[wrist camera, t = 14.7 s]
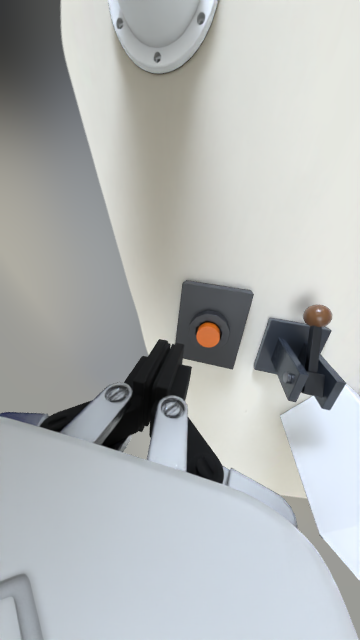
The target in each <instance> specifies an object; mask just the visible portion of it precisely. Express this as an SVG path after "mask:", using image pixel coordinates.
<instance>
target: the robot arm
mask: <svg viewBox="0 0 360 640" xmlns="http://www.w3.org/2000/svg"><path fill="white" fill-rule="evenodd" d="M217 3H218V0H108V4H109V9H110V15H111V20H112V23H113V26H114V29H115V32H116V34H117V36H118V39H119V41H120V43H121V45H122V47H123V48H124V50H125V52H126V53H127V55H128V56H129V58H130V59H131V60H132V61H133V62H134V63H135V64H136V65H137V66H139V67H140V68H142V69H143V70H145V71H148V72H151V73H166V72H170V71H172V70H174V69H176V68H178V67H180V66H181V65H183V64H184V63H185V62H186V61H187V60H189V59H190V58H191V56H192V55H193V54H194V53H195V52H196V50H197V49H198V48H199V46H200V44H201V43H202V41H203V40H204V38H205V36H206V34H207V32H208V30H209V27H210V25H211V23H212V20H213V17H214V13H215V10H216V7H217ZM183 353H184V344H180V343H176V344H175V345H174V344H172V346H171V348H170V344H169V343H168V341H166V340H161V339H159V340H158V342H157V343H156V345H155V346H154V348H153V350H152V351H151V353H150V354H149V356H148V357H145V356H142V357H141V359H140V360H139V361H138V363H137V364H136V366H135V367H134V369H133V370H132V372H131V373H130V374H129V376H128V377H127V379H126V380H125V382H124V383H113V384H111V385H109V386H108V387H106V388H105V389H104V390H103V391H102V392H101V393H100V394H99V395H98V396H97V397H96V398H95V399H94V400H92V401H89V402H86V403H83V404H80V405H78V406H75V407H72V408H69V409H67V410H63V411H60V412H58V413H56V414H53V415H51V416H48V414H40V413H16V412H6V413H1V414H0V640H359V639H358V637H357V634H356V631H355V629H354V626H353V624H352V621H351V618H350V616H349V613H348V611H347V608H346V606H345V603H344V601H343V599H342V596H341V594H340V592H339V589H338V587H337V585H336V583H335V581H334V579H333V577H332V575H331V573H330V571H329V569H328V567H327V565H326V564H325V562H324V561H323V559H322V557H321V555H320V554H319V552H318V551H317V550H316V548H315V547H314V546H313V545H312V544H311V543H310V541H309V540H308V539H307V538H306V537H305V536H304V535H303V534H302V533H301V532H300V531H299V530H298V528H297V522H296V517H295V514H294V513H293V510H292V509H291V506H290V505H289V504H288V503H287V502H286V500H285V499H284V498H282V497H281V496H280V495H279V494H277V493H275V492H274V491H272V490H270V489H268V488H266V487H265V486H263V485H261V484H259V483H258V482H256V481H254V480H252V479H250V478H249V477H247V476H245V475H243V474H241V473H240V472H238V471H236V470H234V469H233V468H231V469H230V470H229V469H227V468H226V467H224V466H222V464H221V462H220V461H219V459H218V458H217V456H216V455H215V453H214V452H213V451H212V449H211V448H210V447H209V445H208V444H207V442H206V441H205V440H204V438H203V437H202V436H201V434H200V433H199V431H198V430H197V429H196V427H195V426H194V424H193V423H192V422H191V420H190V419H189V418H188V406H187V404H186V402H185V399H186V395H187V390H188V386H189V381H190V375H191V369H192V367H190V366H186V365H182V360H183ZM149 422H150V437H151V441H150V445H149V451H148V456H147V460H146V459H142V458H139V457H136V456H133V455H130V454H126V453H123V451H124V449H125V448H126V446H127V445H128V443H129V442H130V440H131V438H132V434H134V433H136V432H138V431H140V432H142V431H143V429H144V426H148V425H149Z"/></svg>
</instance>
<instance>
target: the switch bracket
mask: <svg viewBox="0 0 360 640" xmlns="http://www.w3.org/2000/svg"><path fill="white" fill-rule="evenodd" d="M309 329H310V326H309V325H307V324H304V323H298V322H292V321H287V320H281V319H275V318H269V321H268V324H267V327H266V330H265V333H264V336H263V339H262V342H261V345H260V348H259V351H258V354H257V357H256V360H255V363H254V369H255V370H259V371H264V372H268V373H273V374H277V375H278V378H279V380H280V382H281V385H282V387H283V390H284V392H285V394H286V397H287V399H288V400H289V401H293V402H296V401H297V399H298V397H299V395H300V393H301V391H302V389H303V387H304V385H305V383H306V380H307V378H308V376H309V375H308V373H307V372H306V370H305V362H306V354H307V345H308V337H309ZM330 333H331V330H330V329H329V328H326V327H322V335H321V344H320V353H321V351H322V349H323V347H324V345H325V343H326V341H327V339H328V337H329V335H330ZM320 353H319V362H318V370H317V373H318V374H323V375H325V382H324V391H323V398H321V397H317V396H314V397H315V398H316V400H317V402H318V403H319V405H320V407H321V408H322V409H326V410H331V408H332V406H333V405H334V403H335V401H336V400H337V398H338V396H339V395H340V393H341V391H342V390H343V388H344V386H345V385H346V383H345V381H344V380H343V379H342V378H341V377H340V376H339V375H338V374H337V372H336V371H335V370H334V369H333V368H332V367H331V366H330V365H329V364H328V362H327V361H326V360H325V359H324V358H323V357H322V356H321V355H320Z"/></svg>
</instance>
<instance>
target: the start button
mask: <svg viewBox="0 0 360 640" xmlns="http://www.w3.org/2000/svg"><path fill="white" fill-rule="evenodd" d="M196 338H197V341H198V343H199V344H200V345H202V346H204V347H213V346H215V345H217V344H218V342H219V340H220V330H219V328H218V327H217V326H216V325H215V324H213V323H210V322H207V323H203V324H202V325H200V327H199V328H198V331H197V334H196Z"/></svg>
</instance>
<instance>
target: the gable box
mask: <svg viewBox="0 0 360 640" xmlns="http://www.w3.org/2000/svg"><path fill="white" fill-rule="evenodd" d="M280 418H281V421H282V424H283V427H284V430H285V433H286V436H287V439H288V442H289V445H290V448H291V451H292V454H293V457H294V460H295V463H296V466H297V469H298V472H299V475H300V478H301V481H302V484H303V487H304V490H305V493H306V496H307V499H308V502H309V505H310V508H311V511H312V514H313V517H314V520H315V522H316V526H317V528H318V532H319V535H320V536H321V538H323V539H324V540H325V541H326V542H327V543H328V544H329V545H330V547H331V548H332V549H333V550H334V551H335V553H336V554H337V555H338V556H339V557H340V558H341V559H342V561H343V562H344V563H345V564H346V565H347V566H348V568H349V569H350V570H351V571H352V572H353V573H354V575H355V576H356V577H357V578H358V579H359V580H360V395H359V394H357V393H356V392H355V391H354V390H353V389H351V388H350V387H349V386H348V385H345V386H344V388H343V390H342V391H341V393H340V395H339V396H338V398H337V400H336V401H335V403H334V405H333V406H332V408H331V410H326V409H322V408H321V407H320V405H319V403H318V402H317V400H316V398H315V397H314V396H312V397H311V398H309V399H307V400H305V401H304V402H302V403H300V404H299V405H297V406H295V407H294V408H292V409H290V410H289V411H287V412H285V413H284V414H282V415H280Z"/></svg>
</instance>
